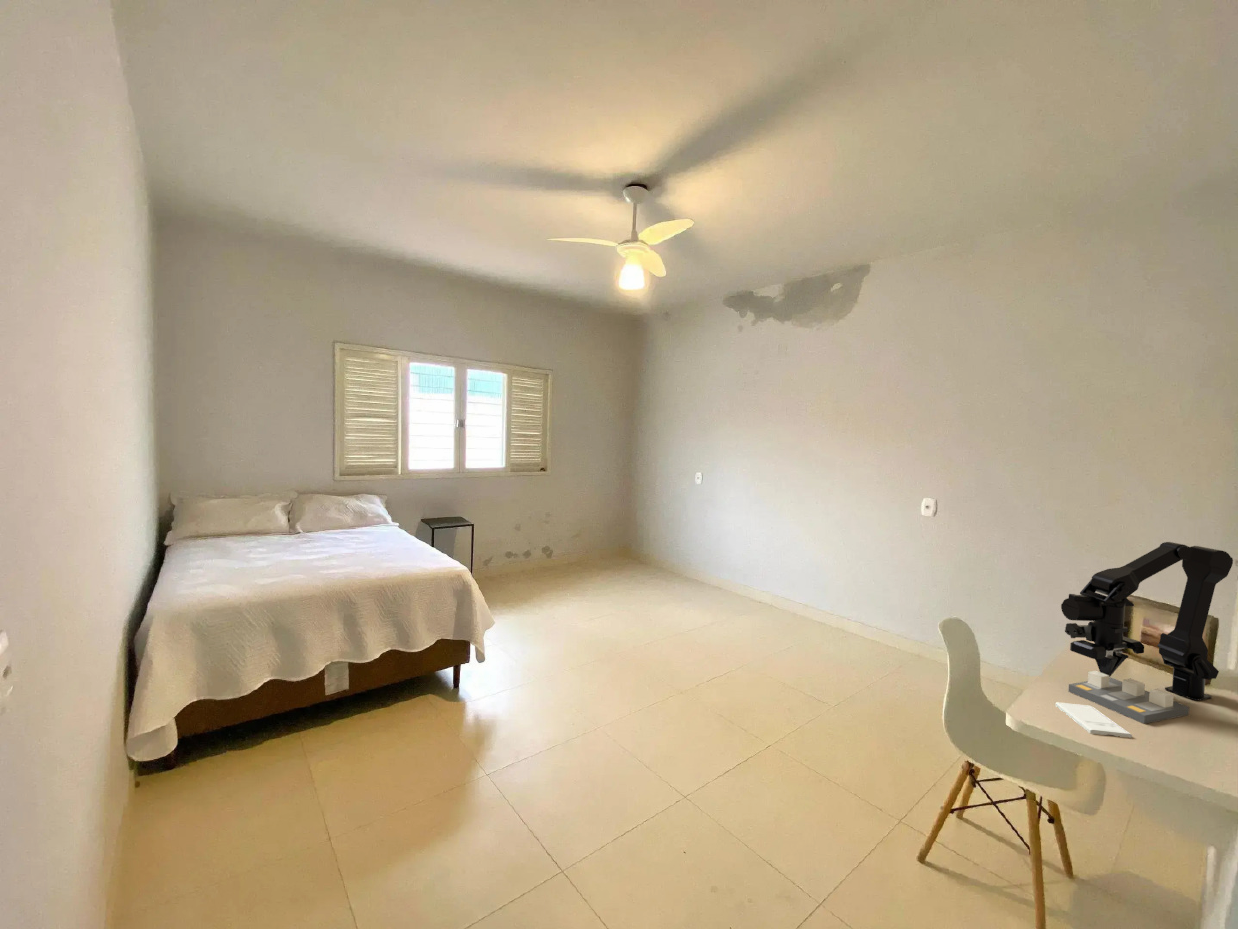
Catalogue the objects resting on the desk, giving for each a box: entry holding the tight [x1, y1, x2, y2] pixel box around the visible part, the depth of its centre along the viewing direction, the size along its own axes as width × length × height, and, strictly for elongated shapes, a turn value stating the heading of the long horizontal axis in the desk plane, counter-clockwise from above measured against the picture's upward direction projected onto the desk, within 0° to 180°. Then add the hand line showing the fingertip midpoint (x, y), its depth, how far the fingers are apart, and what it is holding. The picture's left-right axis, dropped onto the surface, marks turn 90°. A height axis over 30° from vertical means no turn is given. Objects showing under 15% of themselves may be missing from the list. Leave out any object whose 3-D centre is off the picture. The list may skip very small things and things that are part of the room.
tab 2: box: [1122, 678, 1146, 697], centre depth 131 cm, size 3×3×3 cm
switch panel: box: [1068, 676, 1190, 724], centre depth 130 cm, size 16×16×2 cm
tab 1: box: [1087, 670, 1111, 688], centre depth 135 cm, size 3×3×3 cm
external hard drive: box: [1054, 701, 1133, 739], centre depth 121 cm, size 2×8×12 cm
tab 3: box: [1149, 688, 1175, 708], centre depth 125 cm, size 3×3×3 cm
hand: (1105, 678), depth 136 cm, fingers closed
